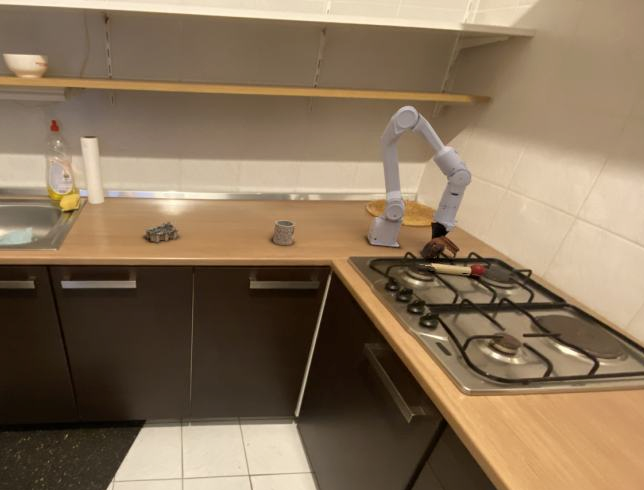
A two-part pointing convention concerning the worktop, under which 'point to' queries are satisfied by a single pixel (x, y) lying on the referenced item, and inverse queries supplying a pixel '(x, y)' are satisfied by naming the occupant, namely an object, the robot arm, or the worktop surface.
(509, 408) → the worktop surface
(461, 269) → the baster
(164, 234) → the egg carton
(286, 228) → the mug
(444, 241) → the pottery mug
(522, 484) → the worktop surface
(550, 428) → the worktop surface
